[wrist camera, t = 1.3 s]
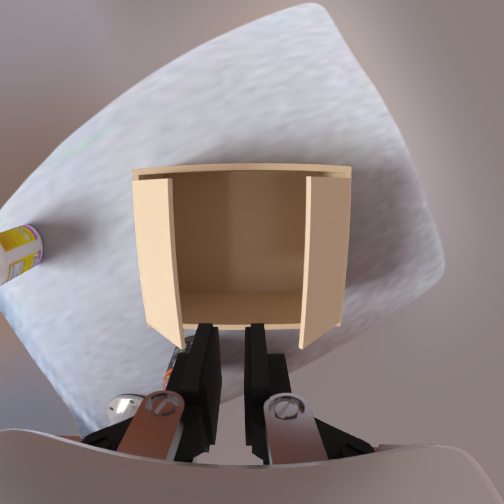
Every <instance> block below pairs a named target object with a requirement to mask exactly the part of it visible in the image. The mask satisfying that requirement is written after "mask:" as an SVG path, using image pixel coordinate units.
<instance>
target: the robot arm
mask: <svg viewBox="0 0 504 504" xmlns="http://www.w3.org/2000/svg"><path fill="white" fill-rule="evenodd" d="M221 387H222V375H221V362H220V348H219V333H218V327H213V323H199V324H198V327H197V330H196V334H195V337H194V340H193V343H192V346H191V350H190V353H179V354H178V356H177V358H176V361H175V364H174V367H173V369H172V372H171V375H170V378H169V381H168V383H167V386H166V389H165V391H164V390H162V391H156V392H153V393H150V394H149V395H147V396H146V397H145V398H142V397H139V396H134V395H120V396H117V397H115V398H113V399H112V400H111V402H110V403H109V405H108V409H107V412H108V416H109V419H110V420H111V421H110V423H109V425H108V427H106V428H104V429H101V430H99V431H96V432H93V433H91V434H89V435H87V436H86V437H85V438H84V439H81V438H80V436H58V435H57V436H56V435H51V434H47V433H42V432H38V431H32V430H26V429H5V430H0V504H504V503H503V501H502V499H501V497H500V496H499V494H498V492H497V490H496V489H495V487H494V486H493V484H492V483H491V481H490V479H489V478H488V476H487V475H486V473H485V472H484V471H483V469H482V468H481V467H480V465H479V464H478V463H477V462H476V461H475V460H474V459H473V458H472V457H471V456H470V455H469V454H468V453H467V452H465V451H463V450H462V449H459V448H456V447H451V446H444V445H433V444H420V445H419V444H418V445H379V447H372V446H371V445H370V444H368V443H367V442H365V441H363V440H361V439H359V438H356V437H354V436H352V435H350V434H348V433H345V432H343V431H341V430H339V429H337V428H335V427H333V426H330V425H328V424H326V423H324V422H322V421H320V420H318V419H316V418H314V417H313V414H312V411H311V408H310V405H309V404H308V402H307V400H305V399H304V398H303V397H301V396H299V395H297V394H293V393H291V387H290V382H289V377H288V371H287V365H286V360H285V355H284V353H283V354H267V349H266V338H265V328H264V323H251V327H245V365H244V402H245V433H246V445H247V446H252V453H253V454H255V455H256V456H257V457H259V458H260V459H262V465H214V464H198V463H197V456H198V455H200V454H201V453H203V452H209V447H210V445H215V440H216V431H217V422H218V413H219V405H220V396H221Z"/></svg>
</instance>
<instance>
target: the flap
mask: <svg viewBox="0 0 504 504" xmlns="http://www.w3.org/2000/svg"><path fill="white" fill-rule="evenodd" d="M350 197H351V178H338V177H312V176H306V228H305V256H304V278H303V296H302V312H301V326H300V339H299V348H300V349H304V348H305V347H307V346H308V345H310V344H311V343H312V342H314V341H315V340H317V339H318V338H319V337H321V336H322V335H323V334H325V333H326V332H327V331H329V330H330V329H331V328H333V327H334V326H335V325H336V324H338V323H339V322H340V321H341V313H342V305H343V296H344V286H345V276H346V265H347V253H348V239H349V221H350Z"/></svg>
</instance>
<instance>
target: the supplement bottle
mask: <svg viewBox="0 0 504 504" xmlns="http://www.w3.org/2000/svg"><path fill="white" fill-rule="evenodd" d="M42 255H43V244H42V240H41V237H40V235H39V233H38V232H37V231H36V229H35V228H33V227H32V226H30V225H22V226H19V227H16V228H13V229H10V230H7V231H4V232H1V233H0V286H1V285H3V284H5V283H6V282H8V281H10V280H11V279H13V278H15V277H17V276H19V275H20V274H22V273H24V272H26V271H28V270H29V269H31V268H33V267H35V266H36V265H37V264H38V263H39V262H40V261H41V258H42Z"/></svg>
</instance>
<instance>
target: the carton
mask: <svg viewBox="0 0 504 504" xmlns="http://www.w3.org/2000/svg"><path fill="white" fill-rule="evenodd" d="M351 167H352V166H339V165H320V164H291V163H228V164H199V165H179V166H164V167H151V168H139V169H132V172H133V181H138V180H151V179H167V178H172V185H173V212H174V231H175V247H176V261H177V273H178V285H179V295H180V305H181V314H182V323H183V329H197V327H198V324H199V323H213V327H218V330H245V327H251V323H264V328H265V330H270V329H300V326H301V312H302V296H303V278H304V256H305V228H306V176H312V177H338V178H351ZM350 208H351V197H350ZM349 229H350V221H349ZM348 244H349V239H348ZM347 258H348V253H347ZM346 270H347V265H346ZM345 280H346V276H345ZM344 290H345V286H344ZM343 299H344V296H343ZM342 308H343V305H342ZM341 316H342V313H341ZM340 323H341V321H340V322H339V323H338V324H336V325H335V326H334V327H338V326H340ZM147 325H148V327H152V326H151V325H149V324H148V323H147ZM152 328H153V327H152Z"/></svg>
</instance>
